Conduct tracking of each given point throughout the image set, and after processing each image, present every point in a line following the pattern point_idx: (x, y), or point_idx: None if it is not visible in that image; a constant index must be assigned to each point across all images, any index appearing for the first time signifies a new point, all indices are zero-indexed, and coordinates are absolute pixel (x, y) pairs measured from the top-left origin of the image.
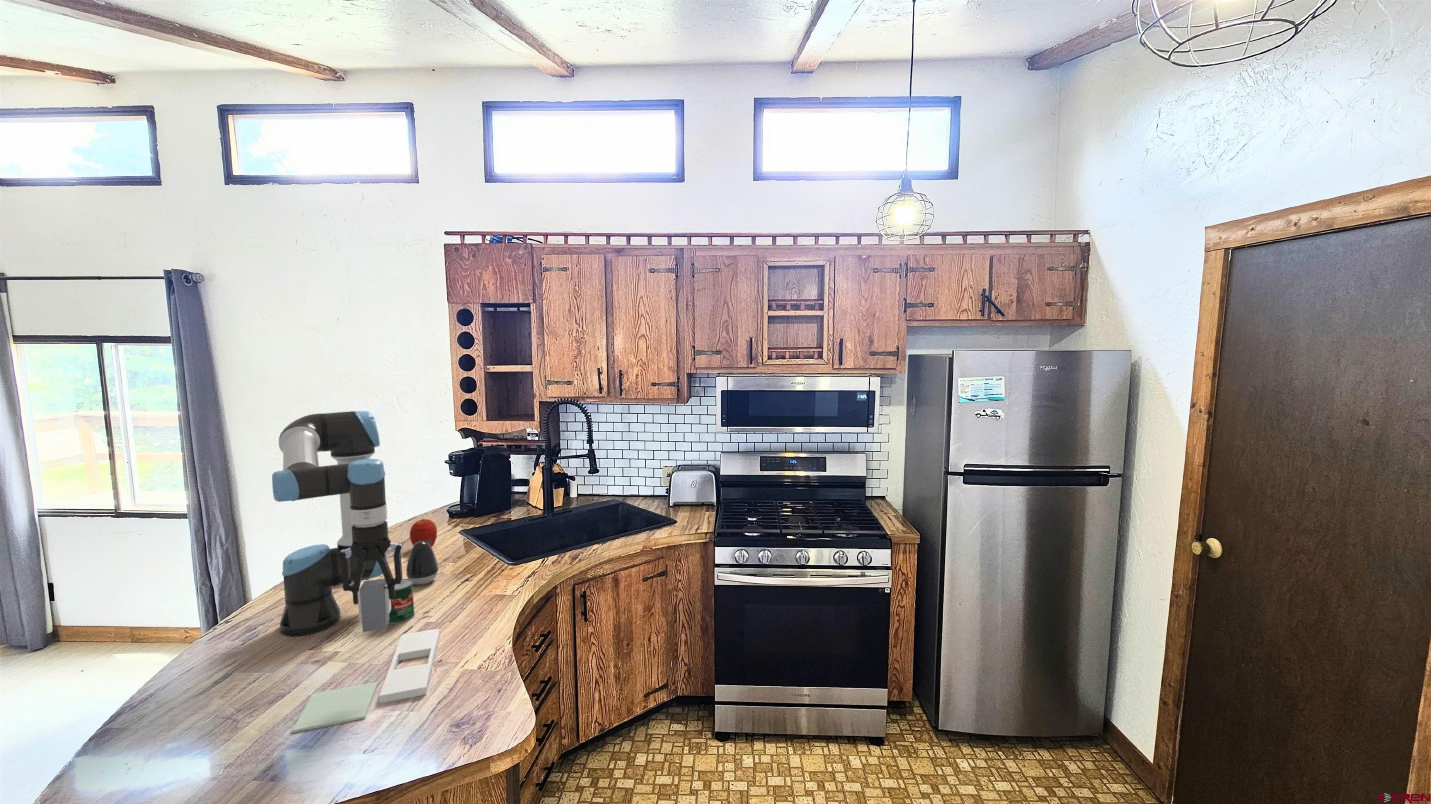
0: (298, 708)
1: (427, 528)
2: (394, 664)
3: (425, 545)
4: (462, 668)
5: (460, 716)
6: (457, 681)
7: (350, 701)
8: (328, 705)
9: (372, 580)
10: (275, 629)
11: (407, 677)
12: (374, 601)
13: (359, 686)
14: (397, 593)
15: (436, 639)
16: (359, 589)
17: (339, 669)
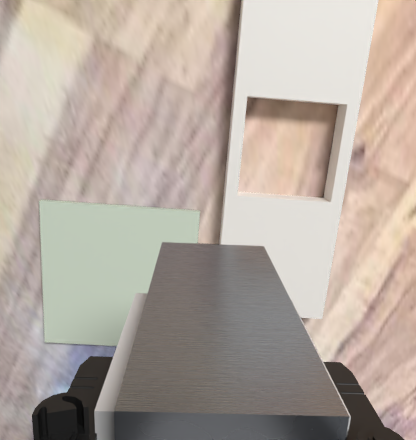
0: (25, 244)
1: None
2: (239, 166)
3: None
4: (410, 223)
5: (377, 410)
6: (389, 281)
7: (146, 279)
8: (97, 275)
9: (202, 427)
10: None
11: (278, 255)
12: None
13: (154, 217)
14: None
15: (368, 43)
16: (97, 437)
17: (74, 71)
